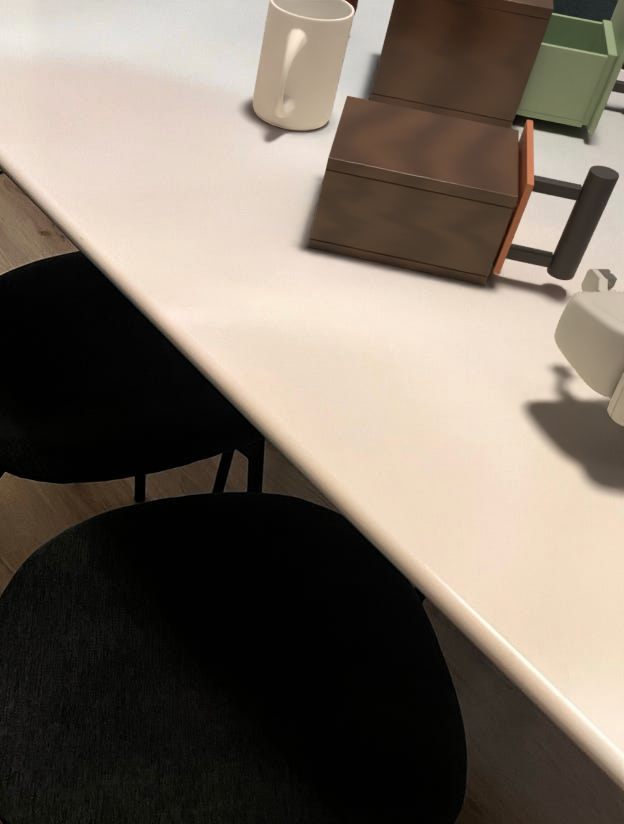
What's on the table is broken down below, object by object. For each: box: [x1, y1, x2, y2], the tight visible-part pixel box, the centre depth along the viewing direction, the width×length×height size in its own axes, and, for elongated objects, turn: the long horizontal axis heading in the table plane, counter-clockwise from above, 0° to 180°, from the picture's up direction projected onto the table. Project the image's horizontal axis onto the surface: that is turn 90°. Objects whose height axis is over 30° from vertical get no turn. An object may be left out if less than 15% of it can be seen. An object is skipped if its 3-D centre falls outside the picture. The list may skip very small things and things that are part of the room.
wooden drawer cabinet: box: [368, 0, 554, 129], centre depth 114 cm, size 16×14×12 cm
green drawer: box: [516, 0, 624, 135], centre depth 112 cm, size 22×14×11 cm, turn 76°
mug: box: [252, 0, 356, 132], centre depth 105 cm, size 9×12×11 cm
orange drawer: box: [492, 119, 620, 281], centre depth 91 cm, size 22×14×9 cm, turn 76°
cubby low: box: [307, 95, 520, 286], centre depth 92 cm, size 16×14×8 cm
